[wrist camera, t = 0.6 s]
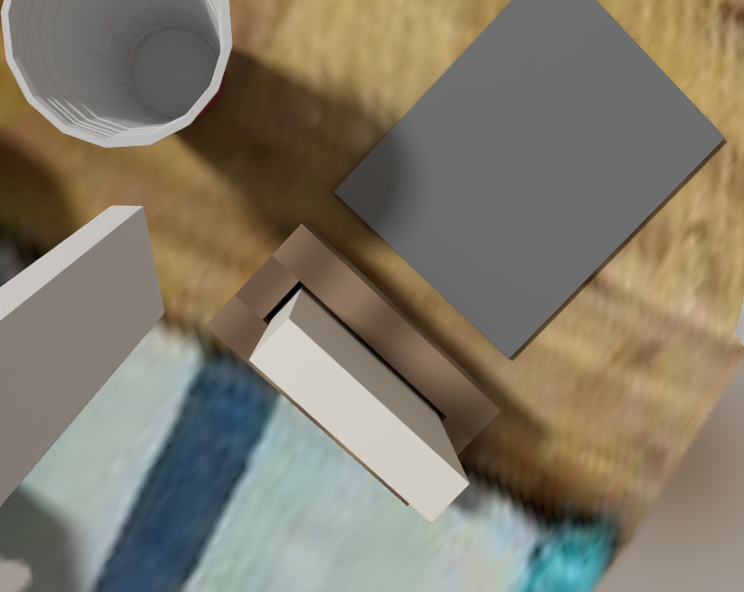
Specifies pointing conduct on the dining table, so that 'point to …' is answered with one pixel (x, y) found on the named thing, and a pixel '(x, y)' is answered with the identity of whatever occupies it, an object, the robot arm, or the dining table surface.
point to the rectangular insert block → (361, 401)
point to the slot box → (366, 318)
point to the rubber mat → (529, 164)
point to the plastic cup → (118, 64)
